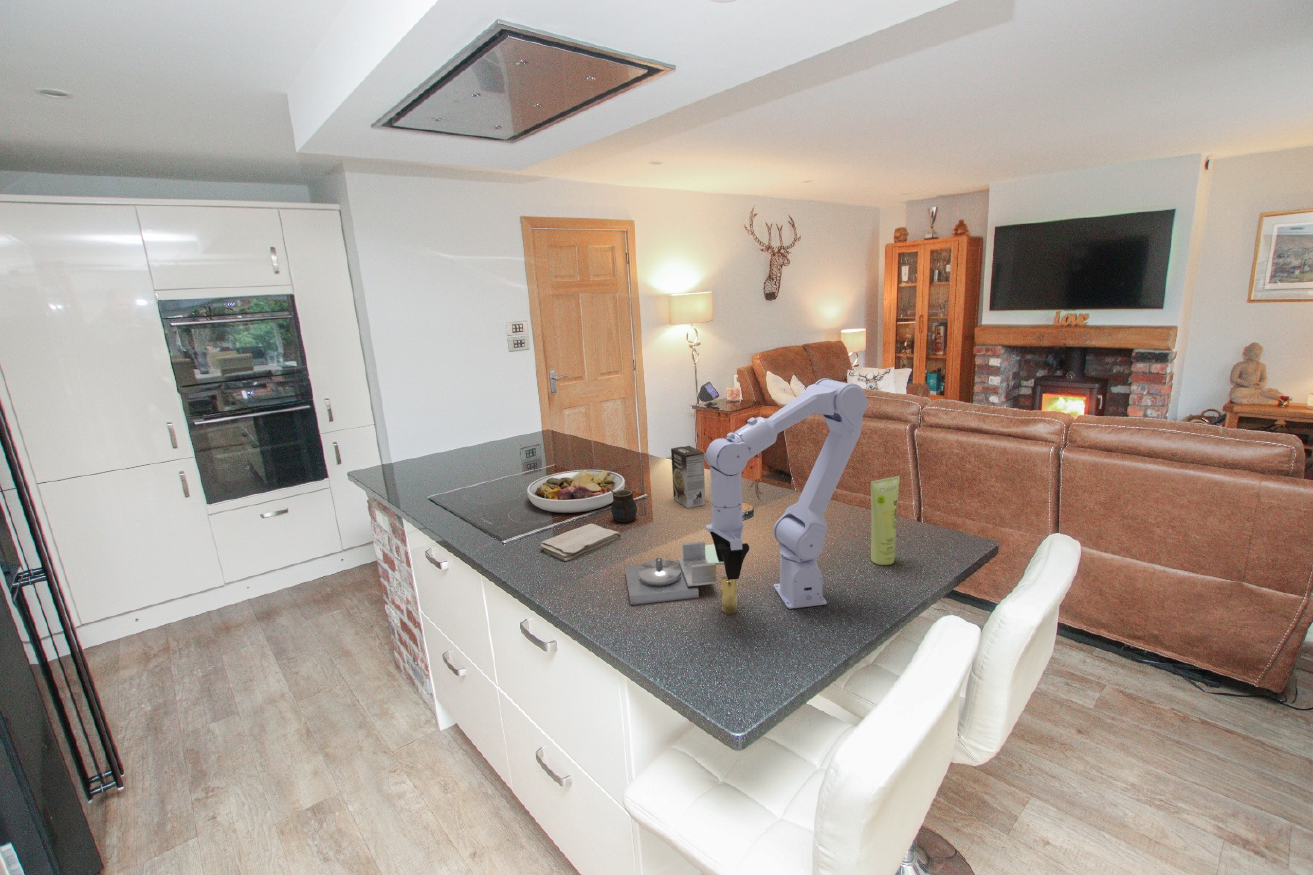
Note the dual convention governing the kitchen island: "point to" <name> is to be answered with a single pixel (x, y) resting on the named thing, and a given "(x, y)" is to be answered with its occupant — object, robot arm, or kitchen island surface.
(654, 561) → the grey disc and bracket
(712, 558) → the pad
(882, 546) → the tube
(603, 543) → the washcloth
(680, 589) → the base
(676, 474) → the coffee box
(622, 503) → the mate gourd
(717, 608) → the kitchen island surface
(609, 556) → the kitchen island surface
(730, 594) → the olive glass cylinder
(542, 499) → the bowl
